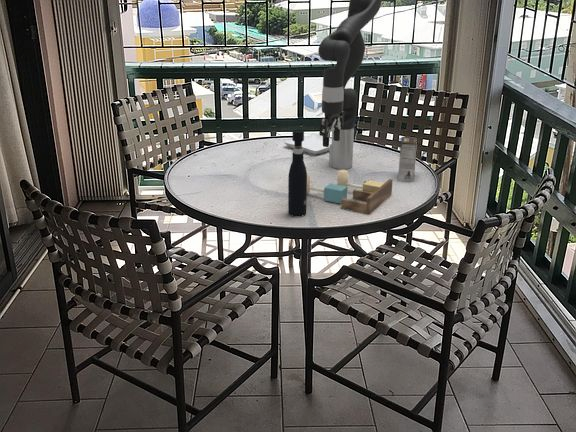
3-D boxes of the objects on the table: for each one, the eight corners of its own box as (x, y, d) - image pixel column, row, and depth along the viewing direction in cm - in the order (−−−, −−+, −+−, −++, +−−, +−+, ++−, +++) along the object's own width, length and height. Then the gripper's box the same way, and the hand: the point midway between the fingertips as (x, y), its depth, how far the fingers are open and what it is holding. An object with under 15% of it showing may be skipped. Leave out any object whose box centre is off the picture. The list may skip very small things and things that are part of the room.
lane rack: (340, 208, 225) (341, 192, 223) (364, 189, 243) (365, 174, 241) (369, 214, 220) (370, 198, 218) (391, 194, 238) (392, 179, 236)
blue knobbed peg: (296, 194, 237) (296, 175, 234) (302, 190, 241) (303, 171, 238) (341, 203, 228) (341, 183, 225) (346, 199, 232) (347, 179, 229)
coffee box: (398, 173, 260) (401, 136, 254) (414, 174, 259) (417, 137, 253) (397, 180, 252) (400, 142, 246) (413, 181, 251) (417, 143, 245)
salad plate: (313, 139, 307) (313, 132, 305) (346, 148, 293) (346, 141, 291) (282, 148, 293) (282, 141, 292) (315, 158, 279) (315, 151, 278)
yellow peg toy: (334, 191, 240) (335, 172, 237) (340, 187, 244) (340, 168, 241) (379, 199, 232) (381, 180, 229) (384, 195, 236) (386, 176, 233)
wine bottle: (287, 210, 223) (287, 128, 212) (305, 209, 224) (306, 128, 212) (289, 217, 218) (289, 133, 206) (307, 216, 218) (308, 133, 206)
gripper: (332, 93, 225) (330, 137, 232) (313, 101, 214) (312, 147, 220) (351, 96, 222) (349, 140, 228) (333, 104, 210) (331, 150, 217)
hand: (331, 143), depth 224 cm, fingers open, 8 cm apart
